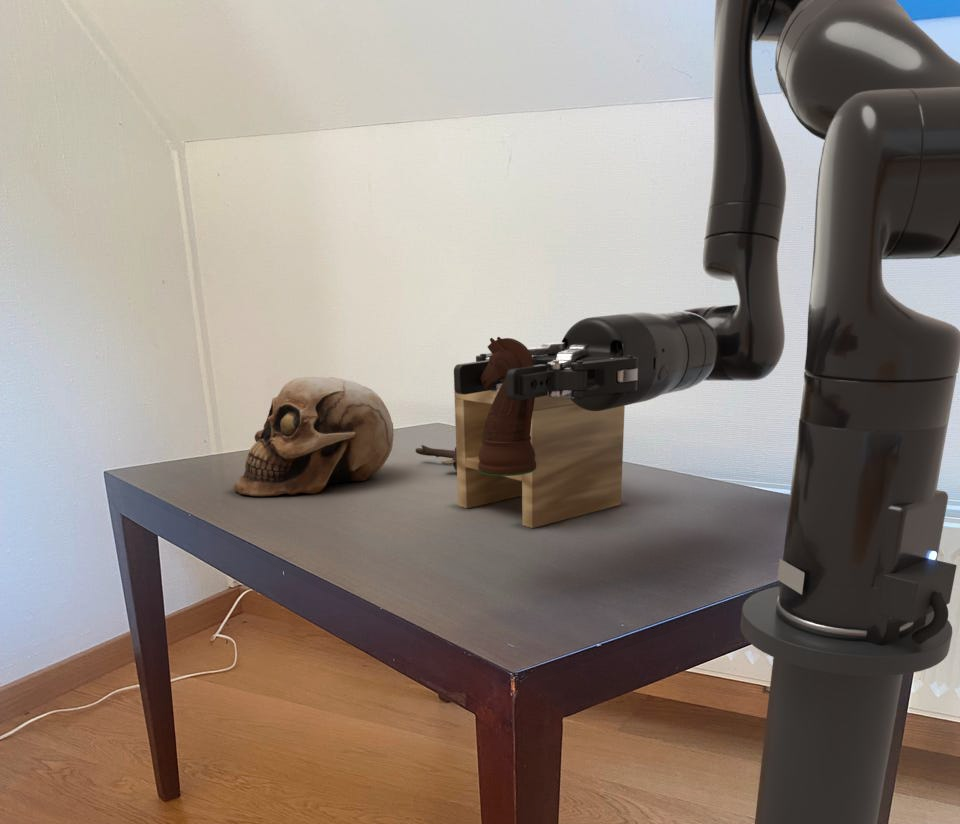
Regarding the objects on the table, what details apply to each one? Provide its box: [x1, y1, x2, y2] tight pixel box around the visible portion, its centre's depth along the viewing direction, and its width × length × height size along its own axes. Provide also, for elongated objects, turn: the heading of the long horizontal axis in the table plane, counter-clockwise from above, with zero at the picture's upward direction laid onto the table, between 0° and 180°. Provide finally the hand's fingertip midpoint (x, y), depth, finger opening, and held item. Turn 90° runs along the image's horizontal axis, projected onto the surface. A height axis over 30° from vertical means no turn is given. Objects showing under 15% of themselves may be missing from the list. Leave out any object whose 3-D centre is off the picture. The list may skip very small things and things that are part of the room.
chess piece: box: [478, 336, 536, 476], centre depth 70 cm, size 5×5×10 cm
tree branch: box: [415, 444, 457, 472], centre depth 118 cm, size 18×4×14 cm
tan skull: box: [233, 376, 394, 497], centre depth 110 cm, size 16×17×13 cm
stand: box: [453, 388, 626, 529], centre depth 97 cm, size 12×13×13 cm
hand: (483, 382), depth 68 cm, fingers closed on chess piece, 5 cm apart
